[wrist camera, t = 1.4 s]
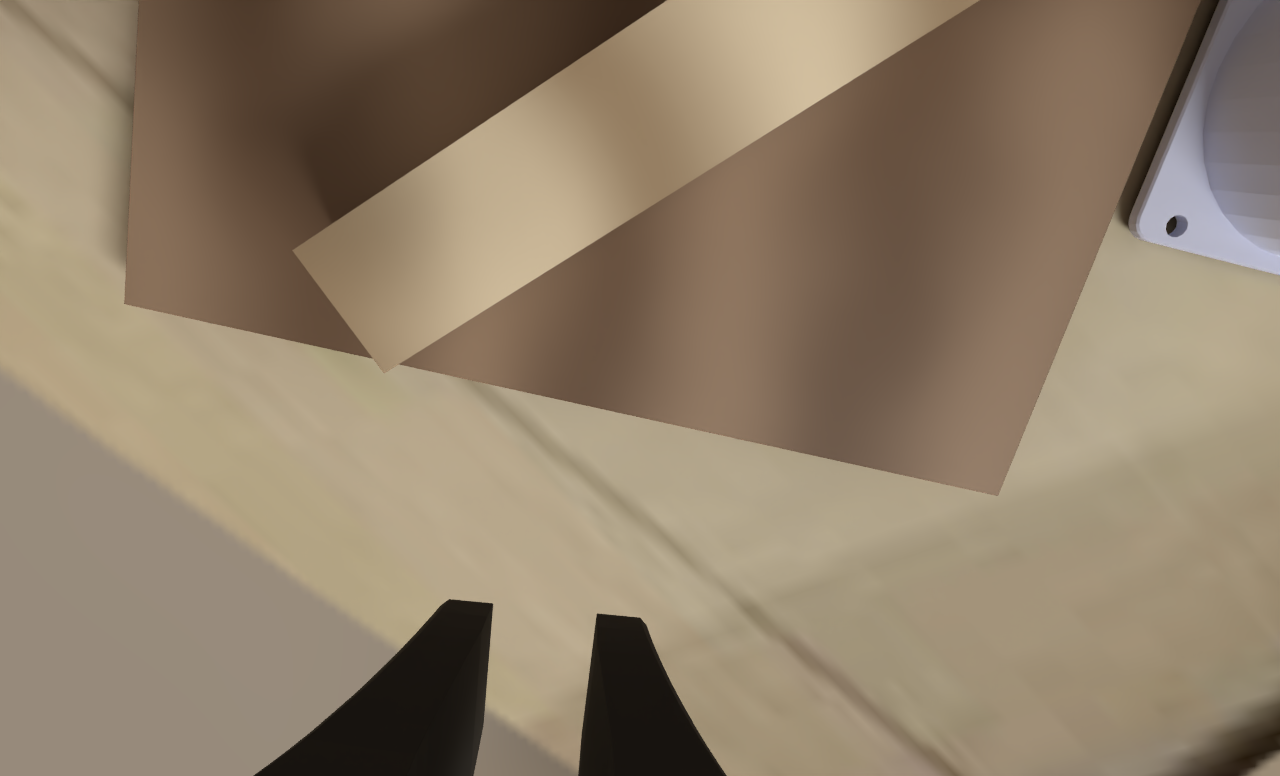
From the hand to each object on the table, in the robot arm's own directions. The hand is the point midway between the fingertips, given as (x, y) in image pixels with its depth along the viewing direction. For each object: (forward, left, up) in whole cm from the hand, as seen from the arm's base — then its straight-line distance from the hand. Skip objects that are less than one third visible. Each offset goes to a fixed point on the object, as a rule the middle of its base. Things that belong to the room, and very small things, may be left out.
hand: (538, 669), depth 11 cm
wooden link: (-1, -9, -9) cm, 12 cm away
